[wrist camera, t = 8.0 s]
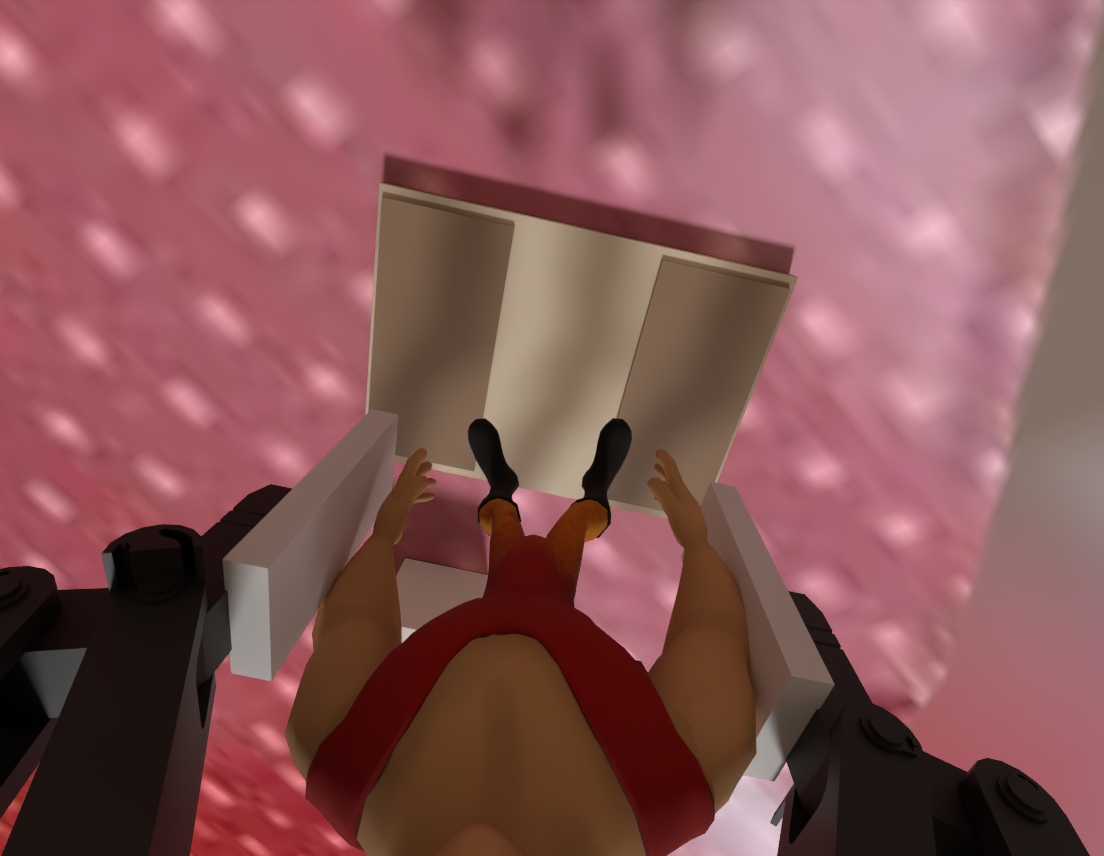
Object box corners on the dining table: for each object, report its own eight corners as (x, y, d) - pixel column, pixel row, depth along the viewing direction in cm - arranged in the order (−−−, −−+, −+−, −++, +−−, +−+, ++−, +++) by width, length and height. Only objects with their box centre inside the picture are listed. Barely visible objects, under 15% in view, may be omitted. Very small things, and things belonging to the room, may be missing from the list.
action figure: (700, 402, 16) (1300, 1542, 3) (691, 500, 18) (1037, 1558, 4) (401, 402, 17) (-395, 1311, 3) (416, 497, 18) (-85, 1395, 5)
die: (398, 620, 33) (364, 696, 28) (405, 558, 31) (370, 628, 26) (476, 635, 33) (456, 714, 28) (488, 574, 31) (469, 648, 26)
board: (370, 446, 28) (361, 456, 27) (387, 183, 23) (377, 182, 21) (696, 514, 29) (700, 527, 27) (789, 274, 23) (799, 278, 22)
